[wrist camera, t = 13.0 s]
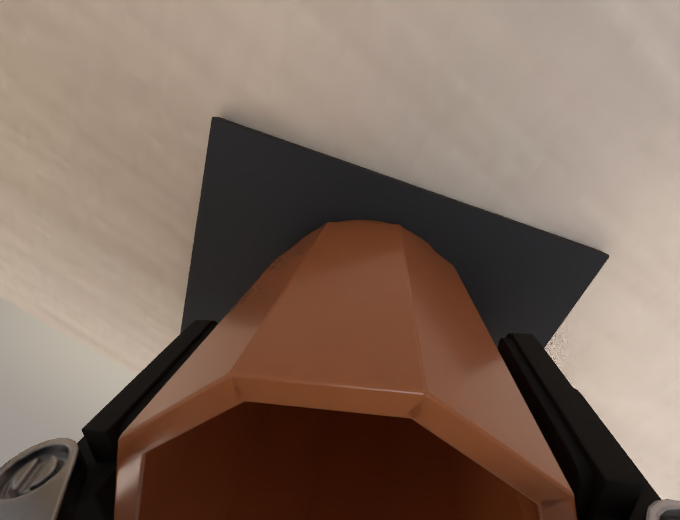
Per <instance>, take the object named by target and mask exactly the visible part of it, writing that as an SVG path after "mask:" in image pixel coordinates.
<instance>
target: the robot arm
mask: <svg viewBox="0 0 680 520" xmlns="http://www.w3.org/2000/svg"><path fill="white" fill-rule="evenodd" d="M217 325H218V323H217V322H216V321H215V320H195V321H193V322H192V323H191V324H190V325H189V326H188V327H187V328H186V329H185V330H184V331H183V332H182V333H181V334H180V335H179V336H178V337H177V338H176V339H175V340H174V341H173V342H172V343H171V344H170V345H168V346H167V347H166V348H165V349H164V350H163V351H162V352H161V353H160V354H159V355H158V356H157V357H156V358H155V359H154V360H153V361H152V362H151V363H150V364H149V365H148V366H147V367H146V368H145V369H144V370H143V371H142V372H141V373H139V374H138V375H137V376H136V377H135V378H134V379H133V380H132V381H131V382H130V383H129V384H128V385H127V386H126V387H125V388H124V389H123V390H122V391H121V392H120V393H119V394H118V395H117V396H116V397H115V398H114V399H113V400H112V401H110V402H109V404H107V405H106V406H105V407H104V408H103V409H102V410H101V411H100V412H99V413H98V414H97V415H96V416H95V417H94V418H93V419H92V420H91V421H90V422H89V423H88V424H87V425H86V426H85V427H84V428H83V429H82V432H83V434H84V437H83V438H82V439H81V440H80V441H79V442H78V443H76V441H74V440H72V439H69V438H57V439H52V440H48V441H45V442H42V443H39V444H37V445H34V446H32V447H30V448H29V449H27V450H25V451H23V452H21V453H19V454H18V455H17V456H15V457H14V458H12V459H11V460H9V461H8V462H7V463H5V464H4V465H3V466H2V467H1V468H0V520H113V518H114V502H115V485H116V468H117V452H118V439H119V437H120V436H121V434H122V433H123V432H124V431H125V429H126V428H127V427H128V426H129V425H130V424H131V423H132V422H133V420H134V419H135V418H136V417H137V416H138V415H139V414H140V412H141V411H142V410H143V409H144V408H145V407H146V406H147V405H148V403H149V402H150V401H151V400H152V399H153V398H154V397H155V395H156V394H157V393H158V392H159V391H160V390H161V389H162V387H163V386H164V385H165V384H166V383H167V382H168V381H169V380H170V378H171V377H172V376H173V375H174V374H175V373H176V372H177V370H178V369H179V368H180V367H181V366H182V365H183V364H184V363H185V361H186V360H187V359H188V358H189V357H190V356H191V355H192V353H193V352H194V351H195V350H196V349H197V348H198V347H199V345H200V344H201V343H202V342H203V341H204V340H205V339H206V338H207V336H208V335H209V334H210V333H211V332H212V331H213V330H214V328H215V327H216V326H217ZM498 351H499V353H500V355H501V356H502V358H503V360H504V362H505V364H506V366H507V368H508V370H509V372H510V373H511V375H512V377H513V379H514V381H515V383H516V385H517V387H518V389H519V391H520V392H521V394H522V396H523V398H524V400H525V402H526V404H527V406H528V408H529V410H530V411H531V413H532V415H533V417H534V419H535V421H536V423H537V425H538V427H539V428H540V430H541V432H542V434H543V436H544V438H545V440H546V442H547V444H548V446H549V447H550V449H551V451H552V453H553V455H554V457H555V459H556V461H557V463H558V465H559V466H560V468H561V470H562V472H563V474H564V476H565V478H566V480H567V482H568V483H569V485H570V487H571V489H572V491H573V493H574V497H575V506H576V514H577V520H680V501H675V500H670V499H665V500H661V499H660V497H659V496H658V495H657V493H656V492H655V491H654V489H653V488H652V487H651V485H650V484H649V483H648V481H647V480H646V479H645V477H644V476H643V475H642V474H641V472H640V471H639V470H638V468H637V467H636V466H635V464H634V463H633V462H632V460H631V459H630V458H629V456H628V455H627V454H626V452H625V451H624V450H623V448H622V447H621V446H620V445H619V443H618V442H617V441H616V439H615V438H614V437H613V435H612V434H611V433H610V431H609V430H608V429H607V427H606V426H605V425H604V423H603V422H602V421H601V419H600V418H599V417H598V416H597V414H596V413H595V412H594V410H593V409H592V408H591V406H590V405H589V404H588V402H587V401H586V400H585V398H584V397H583V396H582V394H581V393H580V392H579V391H578V390H577V389H575V388H573V387H572V386H571V384H570V383H569V382H568V380H567V379H566V378H565V376H564V375H563V373H562V372H561V371H560V369H559V368H558V367H557V365H556V364H555V363H554V361H553V360H552V359H551V357H550V356H549V355H548V353H547V352H546V351H545V349H544V348H543V347H542V345H541V344H540V343H539V341H538V340H537V339H536V337H535V336H534V335H533V334H527V333H508V334H507V336H506V338H500V340H499V343H498Z"/></svg>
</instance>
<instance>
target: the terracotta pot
mask: <svg viewBox="0 0 680 520" xmlns="http://www.w3.org/2000/svg"><path fill="white" fill-rule="evenodd" d="M113 520H577V514H576V506H575V497H574V493H573V491H572V489H571V487H570V485H569V483H568V482H567V480H566V478H565V476H564V474H563V472H562V470H561V468H560V466H559V465H558V463H557V461H556V459H555V457H554V455H553V453H552V451H551V449H550V447H549V446H548V444H547V442H546V440H545V438H544V436H543V434H542V432H541V430H540V428H539V427H538V425H537V423H536V421H535V419H534V417H533V415H532V413H531V411H530V410H529V408H528V406H527V404H526V402H525V400H524V398H523V396H522V394H521V392H520V391H519V389H518V387H517V385H516V383H515V381H514V379H513V377H512V375H511V373H510V372H509V370H508V368H507V366H506V364H505V362H504V360H503V358H502V356H501V355H500V353H499V351H498V349H497V347H496V345H495V343H494V341H493V339H492V337H491V336H490V334H489V332H488V330H487V328H486V326H485V324H484V322H483V320H482V318H481V317H480V315H479V313H478V311H477V309H476V307H475V305H474V303H473V301H472V300H471V298H470V296H469V294H468V292H467V290H466V288H465V286H464V284H463V282H462V281H461V279H460V277H459V275H458V273H457V271H456V269H455V267H454V266H453V265H452V264H451V263H449V262H448V261H447V260H445V259H444V258H443V257H441V255H440V254H439V253H438V252H437V251H436V250H435V249H434V248H433V247H432V246H431V245H430V244H428V243H427V242H426V241H424V240H423V239H422V238H420V237H419V236H417V235H415V234H414V233H412V232H410V231H408V230H406V229H405V228H404V227H402V226H401V225H399V224H389V223H386V222H381V221H374V220H348V221H341V222H328V223H326V224H325V225H323V226H322V227H320V228H319V229H317V230H315V231H313V232H311V233H309V234H308V235H306V236H305V237H303V238H302V239H301V240H300V241H298V242H297V243H296V244H295V245H294V246H293V247H291V248H290V249H288V250H287V251H286V252H284V253H283V254H281V255H280V256H278V257H277V258H276V259H275V260H274V261H273V263H272V264H271V265H270V266H269V267H268V268H267V269H266V271H265V272H264V273H263V274H262V275H261V276H260V277H259V279H258V280H257V281H256V282H255V283H254V284H253V285H252V286H251V288H250V289H249V290H248V291H247V292H246V293H245V294H244V296H243V297H242V298H241V299H240V300H239V301H238V302H237V303H236V305H235V306H234V307H233V308H232V309H231V310H230V311H229V313H228V314H227V315H226V316H225V317H224V318H223V319H222V321H221V322H220V323H219V324H218V325H217V326H216V327H215V328H214V330H213V331H212V332H211V333H210V334H209V335H208V336H207V338H206V339H205V340H204V341H203V342H202V343H201V344H200V345H199V347H198V348H197V349H196V350H195V351H194V352H193V353H192V355H191V356H190V357H189V358H188V359H187V360H186V361H185V363H184V364H183V365H182V366H181V367H180V368H179V369H178V370H177V372H176V373H175V374H174V375H173V376H172V377H171V378H170V380H169V381H168V382H167V383H166V384H165V385H164V386H163V387H162V389H161V390H160V391H159V392H158V393H157V394H156V395H155V397H154V398H153V399H152V400H151V401H150V402H149V403H148V405H147V406H146V407H145V408H144V409H143V410H142V411H141V412H140V414H139V415H138V416H137V417H136V418H135V419H134V420H133V422H132V423H131V424H130V425H129V426H128V427H127V428H126V429H125V431H124V432H123V433H122V434H121V436H120V437H119V439H118V452H117V468H116V485H115V502H114V518H113Z"/></svg>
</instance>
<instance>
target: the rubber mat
mask: <svg viewBox="0 0 680 520" xmlns="http://www.w3.org/2000/svg"><path fill="white" fill-rule="evenodd" d="M348 220H374V221H381V222H386V223H389V224H399V225H401V226H402V227H404V228H405V229H406V230H408V231H410V232H412V233H414V234H415V235H417V236H419V237H420V238H422V239H423V240H424V241H426V242H427V243H428V244H430V245H431V246H432V247H433V248H434V249H435V250H436V251H437V252H438V253H439V254H440V255H441V257H443V258H444V259H445V260H447V261H448V262H449V263H451V264H452V265H453V266H454V267H455V269H456V271H457V273H458V275H459V277H460V279H461V281H462V282H463V284H464V286H465V288H466V290H467V292H468V294H469V296H470V298H471V300H472V301H473V303H474V305H475V307H476V309H477V311H478V313H479V315H480V317H481V318H482V320H483V322H484V324H485V326H486V328H487V330H488V332H489V334H490V336H491V337H492V339H493V341H494V343H495V345H496V347H497V349H498V343H499V340H500V338H506V336H507V334H508V333H527V334H533V335H534V336H535V337H536V339H537V340H538V341H539V343H540V344H541V345H542V347H543V348H544V347H545V346H546V345H547V343H548V342H549V340H550V339H551V338H552V336H553V335H554V334H555V332H556V331H557V329H558V328H559V327H560V325H561V324H562V322H563V321H564V320H565V318H566V317H567V315H568V314H569V313H570V311H571V310H572V308H573V307H574V306H575V304H576V303H577V301H578V300H579V299H580V297H581V296H582V294H583V293H584V292H585V290H586V289H587V287H588V286H589V285H590V283H591V282H592V280H593V279H594V278H595V276H596V275H597V273H598V272H599V271H600V269H601V268H602V266H603V265H604V264H605V262H606V261H607V259H608V258H609V255H608V254H606V253H604V252H602V251H600V250H597V249H594V248H591V247H588V246H585V245H583V244H580V243H577V242H574V241H571V240H568V239H565V238H563V237H560V236H557V235H554V234H551V233H548V232H545V231H543V230H540V229H537V228H534V227H531V226H528V225H525V224H523V223H520V222H517V221H514V220H511V219H508V218H505V217H503V216H500V215H497V214H494V213H491V212H488V211H485V210H483V209H480V208H477V207H474V206H471V205H468V204H465V203H463V202H460V201H457V200H454V199H451V198H448V197H445V196H443V195H440V194H437V193H434V192H431V191H428V190H425V189H423V188H420V187H417V186H414V185H411V184H408V183H405V182H403V181H400V180H397V179H394V178H391V177H388V176H385V175H383V174H380V173H377V172H374V171H371V170H368V169H365V168H363V167H360V166H357V165H354V164H351V163H348V162H345V161H343V160H340V159H337V158H334V157H331V156H328V155H325V154H323V153H320V152H317V151H314V150H311V149H308V148H305V147H303V146H300V145H297V144H294V143H291V142H288V141H285V140H283V139H280V138H277V137H274V136H271V135H268V134H265V133H263V132H260V131H257V130H254V129H251V128H248V127H245V126H243V125H240V124H237V123H234V122H231V121H228V120H225V119H223V118H220V117H212V121H211V128H210V135H209V142H208V148H207V155H206V162H205V169H204V176H203V183H202V189H201V196H200V203H199V210H198V217H197V224H196V230H195V237H194V244H193V251H192V258H191V265H190V271H189V278H188V285H187V292H186V299H185V306H184V312H183V319H182V326H181V333H182V332H183V331H184V330H185V329H186V328H187V327H188V326H189V325H190V324H191V323H192V322H193V321H195V320H215V321H216V322H217V323H218V324H219V323H220V322H221V321H222V319H223V318H224V317H225V316H226V315H227V314H228V313H229V311H230V310H231V309H232V308H233V307H234V306H235V305H236V303H237V302H238V301H239V300H240V299H241V298H242V297H243V296H244V294H245V293H246V292H247V291H248V290H249V289H250V288H251V286H252V285H253V284H254V283H255V282H256V281H257V280H258V279H259V277H260V276H261V275H262V274H263V273H264V272H265V271H266V269H267V268H268V267H269V266H270V265H271V264H272V263H273V261H274V260H275V259H276V258H277V257H278V256H280V255H281V254H283V253H284V252H286V251H287V250H288V249H290V248H291V247H293V246H294V245H295V244H296V243H297V242H298V241H300V240H301V239H302V238H303V237H305V236H306V235H308V234H309V233H311V232H313V231H315V230H317V229H319V228H320V227H322V226H323V225H325V224H326V223H328V222H341V221H348ZM181 333H180V334H181Z"/></svg>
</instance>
